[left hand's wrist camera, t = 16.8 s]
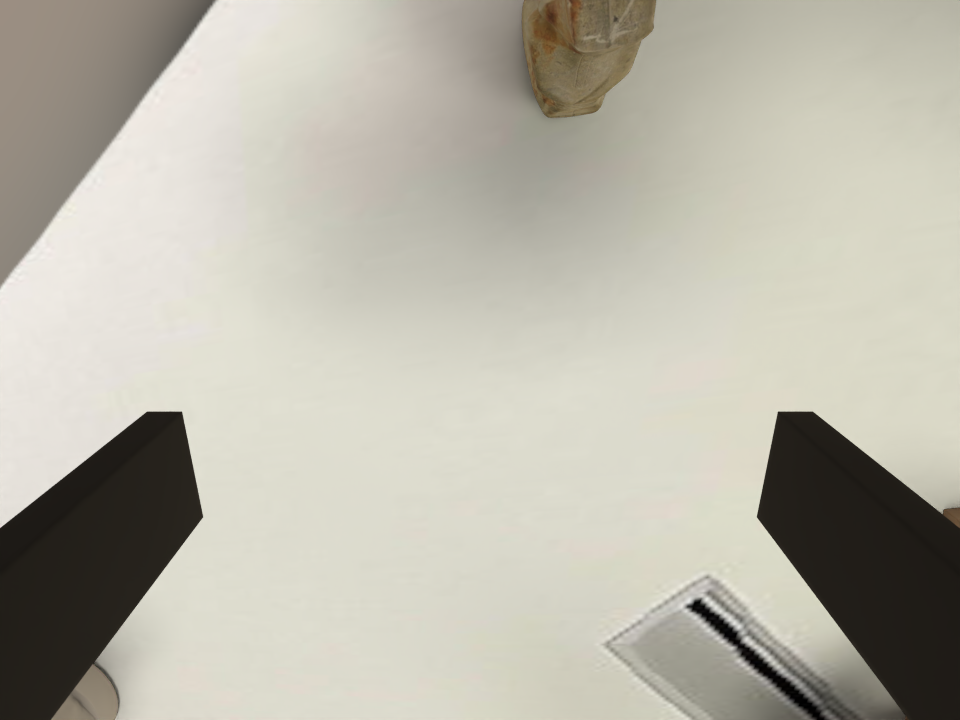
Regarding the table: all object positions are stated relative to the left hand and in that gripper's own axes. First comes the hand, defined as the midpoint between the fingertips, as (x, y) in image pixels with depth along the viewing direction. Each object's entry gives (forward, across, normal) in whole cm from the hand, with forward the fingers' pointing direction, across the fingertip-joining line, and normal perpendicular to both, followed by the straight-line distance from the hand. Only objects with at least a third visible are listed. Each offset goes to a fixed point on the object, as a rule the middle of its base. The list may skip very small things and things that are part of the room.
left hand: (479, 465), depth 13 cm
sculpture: (+29, +5, +12) cm, 32 cm away
